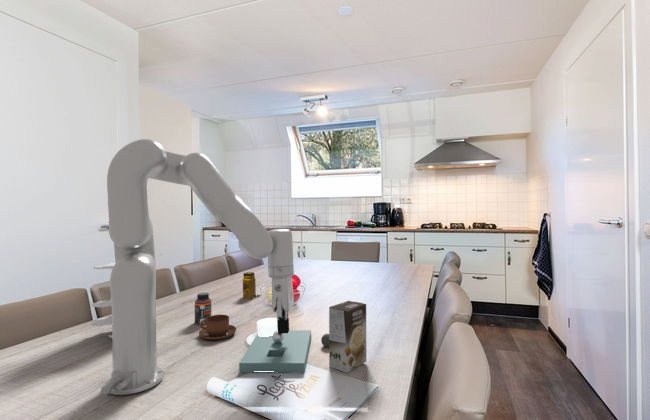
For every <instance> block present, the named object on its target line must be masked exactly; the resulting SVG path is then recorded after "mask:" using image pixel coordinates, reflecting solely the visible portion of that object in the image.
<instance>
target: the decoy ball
mask: <svg viewBox="0 0 650 420" xmlns="http://www.w3.org/2000/svg"><path fill="white" fill-rule="evenodd" d="M320 341H321V345H322V346H324V347H326V348H329V333H325V334H323V335H322V336H321V340H320Z"/></svg>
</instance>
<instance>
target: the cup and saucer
mask: <svg viewBox="0 0 650 420" xmlns="http://www.w3.org/2000/svg"><path fill="white" fill-rule="evenodd" d="M203 322H206V325H205V326H204V325H202V323H203ZM199 326H200V328H201V329H200V330H199V332H198V335H199V337H201V338H202V339H204V340H208V341H218V340H223V339H226V338H229V337H231V336H233V335H234V334H235V333H236V331H237V327H236V326H235V325H231V324H230V315H227V314H214V315H212V316H210V317H208V318H207V319H206V320H203V321H201V323H200V325H199Z"/></svg>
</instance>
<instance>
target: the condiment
mask: <svg viewBox="0 0 650 420" xmlns="http://www.w3.org/2000/svg"><path fill="white" fill-rule="evenodd" d="M242 274H243V276H242V277H243V278H242V298H243V299H244V298H245V299H244V300H253V299H254V300H255V299H257V298H258V297H260V296H261V294H256V291H257V290H256V278H255V277H256V275H255V272H253V271H246V272H244V273H242ZM256 295H258V296H257V297H256ZM251 298H253V299H251Z"/></svg>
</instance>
